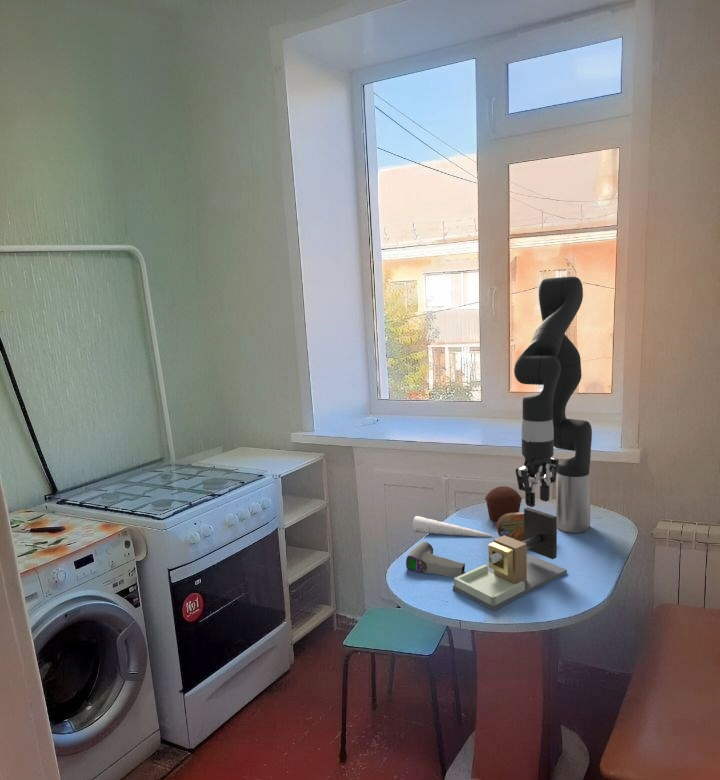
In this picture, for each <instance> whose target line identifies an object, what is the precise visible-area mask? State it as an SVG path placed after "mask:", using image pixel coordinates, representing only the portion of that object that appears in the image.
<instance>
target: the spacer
mask: <svg viewBox="0 0 720 780" xmlns="http://www.w3.org/2000/svg"><path fill="white" fill-rule="evenodd" d="M495 553H499V554H502V555H504V564H502V563H499V562H496V563H491V562H490V560H489V559H488V568H490V569H491V568H492V569H494V570H496V571H498V572H501V573H503V574H505V575H507V576H508V575H510V574H512V573H513V550H512V549H510V548H507V547H505V546H502V545H500V544H497V543H495V542H494V541H493V542H491V543H489V544H488V557H489V556H490V555H492V554H495Z"/></svg>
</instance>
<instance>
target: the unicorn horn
mask: <svg viewBox="0 0 720 780" xmlns="http://www.w3.org/2000/svg"><path fill="white" fill-rule="evenodd" d="M412 532H414V533H420V534H421V533H422V534H432V533H434V534H433V535H435V534H436V535H448V536H454V535H455V536H460V537H461V536H463V537H466V536H468V537H480V538H481V537H483V538H485V537H486V538H490V537H493V535H491V534H489V533H486V532H485V531H484V532H483V531H480V530H476V529H472V528H469V527H465V526H464V527H463V526H460V525H456V524H453V523H449V522H446V521H445V522H443V521H439V520H435V519H431V518H426V517H423V516H420V515H415V516H414V518H413V521H412Z"/></svg>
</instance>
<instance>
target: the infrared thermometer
mask: <svg viewBox="0 0 720 780" xmlns="http://www.w3.org/2000/svg"><path fill="white" fill-rule="evenodd" d="M405 567H406V569H407V570H408V571H409V572H413V573H418V574H422V573H423V574H432V575H438V576H444V577H450V578H456V577H458V576H460V575H462V574H465V568H466V563H464V562H459V561H456V560H452V559H451V558H450V559H449V558H446V557H441V556H438V555H435V554H434V548H433V546H432V545H431V544H430V543H429V542H427V541H421V542H420V543H419V544H418V545H416V546H415V547H414V548H413V549H412V550H410V552H409V553H408V555H407V557H406V560H405Z"/></svg>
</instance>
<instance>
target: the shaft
mask: <svg viewBox="0 0 720 780" xmlns="http://www.w3.org/2000/svg"><path fill="white" fill-rule="evenodd" d="M523 512H524V541H523V543H526V544H527V550H528V551H530V552H533V553H535V554H538V555H541V556H543V557H545V558H548V559H551V560H554V559H556V558H557V556H558V554H557V549H558V548H557V547H558V546H557V540H558V539H557V536H558V535H557V533H558V532H557V531H558V530H557V529H558V528H557V517H556V516H555V515H553V514H549V513H546V512H543V511H539V510H537V509H534V508H532V507H525V508H524V509H523ZM503 559H504V555H502V554H499V553H495V554H492V555H490V556H489V555H488V561H489V560H490V562H491V563H496V562H498V561H500V560H503Z"/></svg>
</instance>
